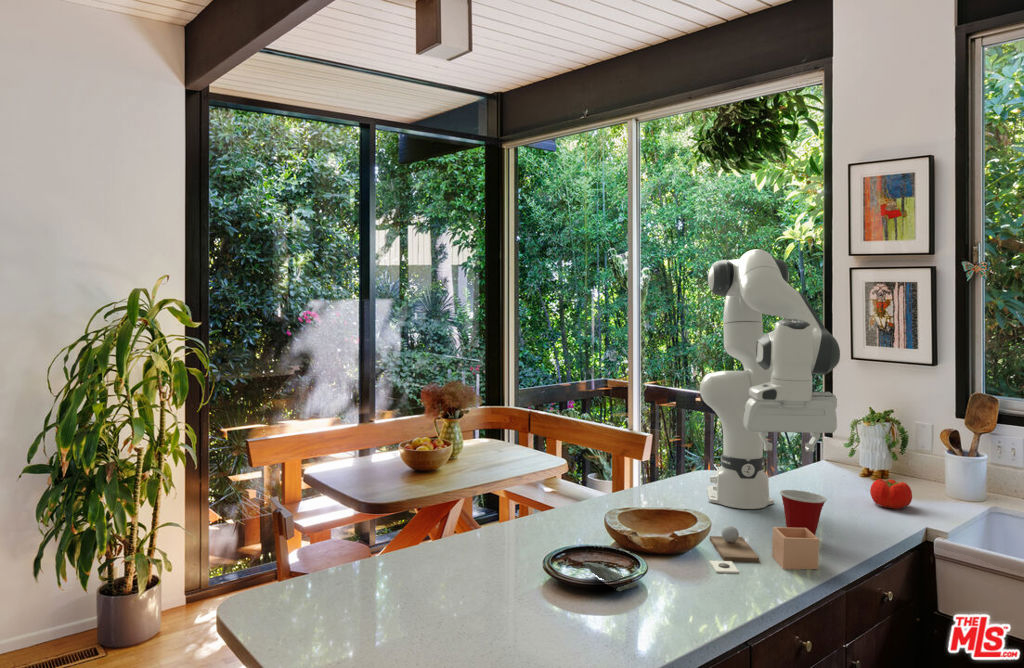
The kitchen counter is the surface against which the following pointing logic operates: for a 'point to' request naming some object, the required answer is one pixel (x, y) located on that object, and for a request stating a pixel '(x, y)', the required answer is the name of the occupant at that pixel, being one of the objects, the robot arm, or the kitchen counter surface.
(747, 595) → the kitchen counter surface
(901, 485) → the tomato
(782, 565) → the terracotta open box
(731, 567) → the tile
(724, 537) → the grey ball
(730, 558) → the walnut board
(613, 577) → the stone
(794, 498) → the plastic cup
